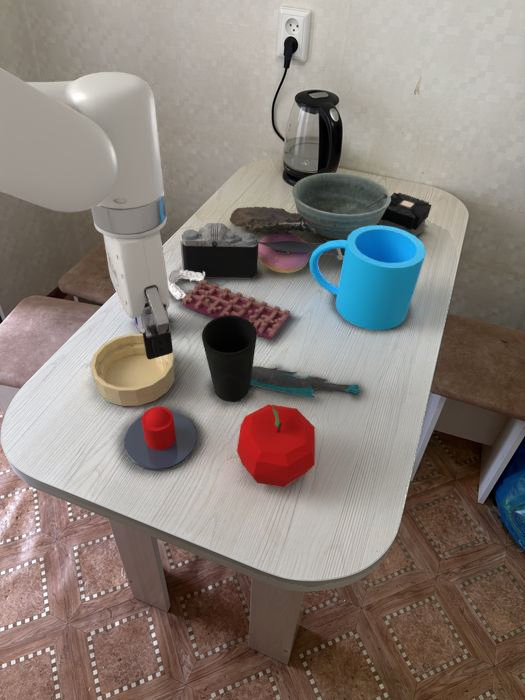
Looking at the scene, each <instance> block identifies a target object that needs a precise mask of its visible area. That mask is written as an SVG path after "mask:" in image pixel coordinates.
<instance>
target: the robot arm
mask: <svg viewBox="0 0 525 700" xmlns="http://www.w3.org/2000/svg"><path fill="white" fill-rule="evenodd" d="M154 95H155V94H154V92H153V90H152V88H151V86H150V85H149V84H148V83H147V81H146V80H144V79H143V78H142V77H140V76H138V75H135V74H132V73H129V72H128V73H127V72H121V71H101V72H93V73H89V74H86V75H83V76H81V77H78V78H77V79H75V80H64V81H25V80H22V79H21V78H19V77H18V76H16V75H14V74H12V72H9V71H7V70H5V69H4V68H3V67H0V192H1V193H3V194H6V195H9V196H12V197H14V198H17V199H20V200H23V201H25V202H27V203H31V204H34V205H36V206H39V207H42V208H45V209H47V210H51V211H53V212H54V211H55V212H60V213H69V214H70V213H81V212H84V211H88V210H91V215H92V219H93V220H92V221H93V225H94V228H95V229H96V230H97V231H98V232H99V233H101V234H102V235H103V236H102V237H103V242H104V248H105V252H106V259H107V266H108V273H109V277H110V281H111V282H112V285H113V288H114V290H115V293H116V294H117V297H118V299H119V301H120V303H121V305H122V308H123V310H124V312H125V314H126V315H127V316H128V317H129V318H130V319H133V320H135V318H137V317H141V320H142V323H143V327H144V330H145V332H144V333H142V334H143V339H144V345H145V351H146V356H147V358H148V359H154V358H157V357H161V356H164V355H168V354H171V353H172V352H173V353H174V348H173V338H172V331H171V325H170V322H168V321H169V317H168V318H167V315H166V311H165V310H167V311H168V309H169V307H170V306H171V305H170V303H171V302H170V301H171V300H170V299H171V298H170V290H169V287H168V280H167V279H168V274H167V265H166V260H165V254H164V246H163V242H162V237H161V231H160V230H162V229H163V228H164V227H165V225H166V224H167V220H168V219H167V208H166V200H165V199H166V198H165V189H164V179H163V171H162V169H163V168H162V161H161V149H160V140H159V129H158V122H157V121H158V119H157V111H156V109H157V108H156V103H155V96H154ZM148 306H149V307H150V309H146V310H143V309H144V308H146V307H148ZM148 314H152V315H153V319H154V325H151V326H149V323H148V319H147V316H146V315H148Z"/></svg>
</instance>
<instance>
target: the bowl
mask: <svg viewBox="0 0 525 700" xmlns="http://www.w3.org/2000/svg"><path fill="white" fill-rule="evenodd" d="M291 193H292V197H293V199H294V204H295V207H296V211H297V212H296V213H299V214H301V216H303V217H304V218H305V219H307V220H308V222H309V223H311V224H312V227H313V228H315V231H316V233H315V234H316V235H317V236H318V237H319V238H320V239H322V240H324V241H327V242H329V241H334V240H347V238H348V236H349V235H350V234H351V233H352V231H354V230H356V229H358V228H360V227H365V226H370V225H377V224H379V220H380V219H381V218H382V216H383V214H384V212H385V210H386V208H387V207H388V206H389V204H390V202H391V193H390V191H389V189H387V188H386V187H385V185H383V184H382V183H380V182H379V181H376V180H374V179H372V178H369V177H366V176H363V175H359V174H353V173H345V172H323V173H316V174H312V175H308V176H306V177H304V178H301V179H300V180H298V181H297V182H296V183H294V185H293V186H292V190H291ZM384 194H387V195H388V198H387V199H385V198H384V199H382V200H380V201H378V202H377V203H375V204H373V205H372V206H370V207H368V208H366V209H364V208H365V207H367V206H368V205H370V204H372V203H374V202H375V201H377V200H379V199H380V198H382V197H383V195H384Z"/></svg>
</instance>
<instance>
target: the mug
mask: <svg viewBox="0 0 525 700" xmlns="http://www.w3.org/2000/svg"><path fill="white" fill-rule="evenodd" d="M321 244H322V245H320V246H319V247H318V248H317V249H316V250H314V251H313V253H311V254H310V258H309V260H308V263H309V271H310V273H311V275H312V277H313V279H314V280H315V281H316V282H317V284H318V285H319V286H320V287H321V288H323V289H324V290H326V291H327V292H329V293H330V294H332V295H334V296H335V295H336V299H335V306H336V310H337V312H338V313H339V315H340V316H341V317H342V318H343V319H344V320H345V321H346V322H348V323H349V324H352V325H354V326H357V327H359V328H361V329H368V330H373V331H385V330H389V329H393V328H396V327H398V326H399V325H401V324H402V323H403V322H404V320H405V319H406V317H407V316H408V311H409V309H410V305H411V302H412V299H413V295H414V293H415V291H416V290H415V289H416V287H417V283H418V279H419V277H420V273H421V271H422V267H423V265H424V261H425V258H426V247H425V245H424V243H423V241H422V240H420V239H419V238H418V237H417V236H416V235H415V236H414V235H412V234H410V233H408V232H406V231H404V230H401V229H398V228H395V227H389V226H383V225H380V224H379V225H377V224H376V225H370V226H365V227H360V228H358V229H356V230H354V231H352V233H351V234H350V235H349V236H348V238H347V240H334V241H327V242H325V243H321ZM337 248H345V254H344V256H343V257H344V260H342V266H341V271H340V277H339V282H338V286H337V285H335V284H333V283H332V282H331V281H329V280H328V279H327V278H326V277H325V276H324V275H323V274H322V272H321V270H320V268H319V260H320V257H321V256H322V255H324V254H323V253H324V252H325V251H328V250H330V249H337Z"/></svg>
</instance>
